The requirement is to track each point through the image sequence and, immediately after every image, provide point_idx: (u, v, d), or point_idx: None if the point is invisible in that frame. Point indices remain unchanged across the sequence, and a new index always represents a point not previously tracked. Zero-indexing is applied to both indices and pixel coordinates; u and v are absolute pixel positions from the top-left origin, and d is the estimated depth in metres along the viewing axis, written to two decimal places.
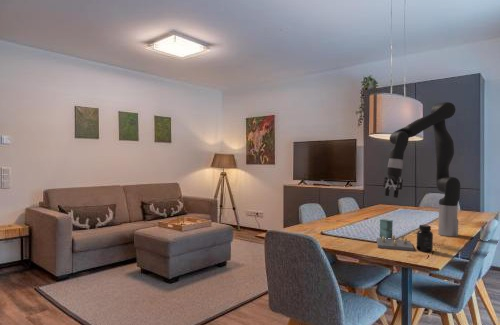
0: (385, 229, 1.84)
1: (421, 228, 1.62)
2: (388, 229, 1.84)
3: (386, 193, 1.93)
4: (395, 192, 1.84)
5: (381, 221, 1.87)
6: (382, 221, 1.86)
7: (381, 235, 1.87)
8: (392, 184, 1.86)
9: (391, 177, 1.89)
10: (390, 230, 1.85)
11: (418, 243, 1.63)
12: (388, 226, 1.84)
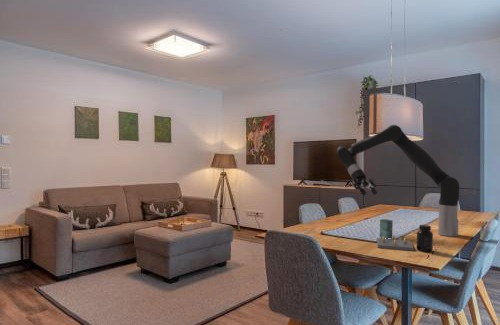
0: (385, 229, 1.84)
1: (421, 228, 1.62)
2: (388, 229, 1.84)
3: (373, 192, 1.99)
4: (361, 191, 1.96)
5: (381, 221, 1.87)
6: (382, 221, 1.86)
7: (381, 235, 1.87)
8: None
9: None
10: (390, 230, 1.85)
11: (418, 243, 1.63)
12: (388, 226, 1.84)
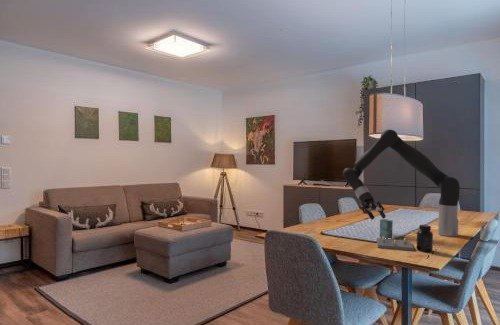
0: (385, 229, 1.84)
1: (421, 228, 1.62)
2: (388, 229, 1.84)
3: (382, 216, 1.94)
4: (369, 215, 1.91)
5: (381, 221, 1.87)
6: (382, 221, 1.86)
7: (381, 235, 1.87)
8: None
9: None
10: (390, 230, 1.85)
11: (418, 243, 1.63)
12: (388, 226, 1.84)
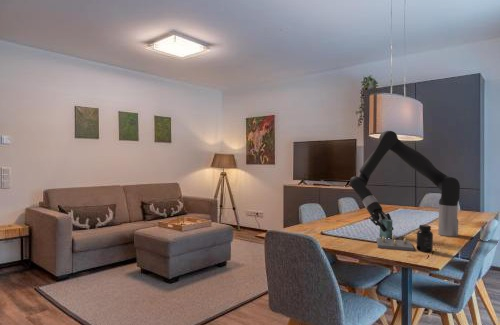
0: None
1: (421, 228, 1.62)
2: (388, 229, 1.84)
3: None
4: (381, 227, 1.86)
5: None
6: (382, 221, 1.86)
7: (381, 235, 1.87)
8: None
9: None
10: (390, 230, 1.85)
11: (418, 243, 1.63)
12: (388, 226, 1.84)
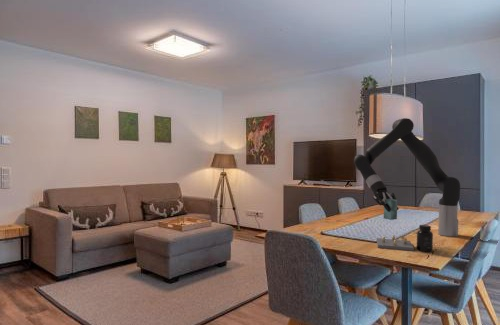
0: None
1: (421, 228, 1.62)
2: (392, 208, 1.75)
3: None
4: (385, 207, 1.76)
5: None
6: (386, 200, 1.77)
7: (385, 215, 1.77)
8: None
9: None
10: (394, 210, 1.75)
11: (418, 243, 1.63)
12: (393, 206, 1.75)
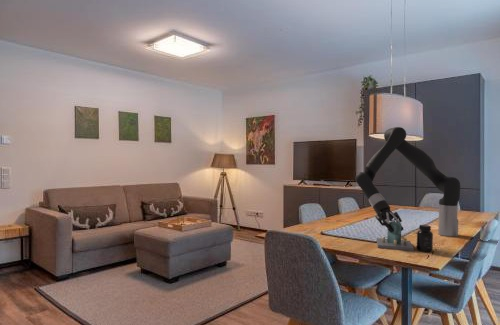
0: (393, 233, 1.69)
1: (421, 228, 1.62)
2: (396, 232, 1.69)
3: None
4: None
5: None
6: None
7: (389, 239, 1.72)
8: None
9: None
10: (399, 234, 1.70)
11: (418, 243, 1.63)
12: (397, 230, 1.69)
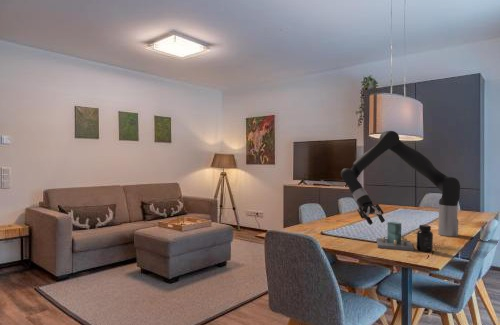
0: (393, 233, 1.69)
1: (421, 228, 1.62)
2: (396, 232, 1.69)
3: (381, 220, 1.86)
4: (367, 220, 1.83)
5: (389, 224, 1.72)
6: (390, 224, 1.71)
7: (389, 239, 1.72)
8: None
9: None
10: (399, 234, 1.70)
11: (418, 243, 1.63)
12: (397, 230, 1.69)
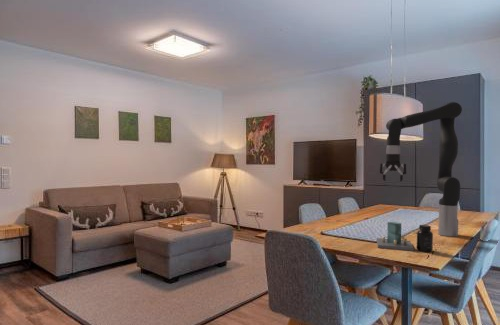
0: (393, 233, 1.69)
1: (421, 228, 1.62)
2: (396, 232, 1.69)
3: None
4: None
5: (389, 224, 1.72)
6: (390, 224, 1.71)
7: (389, 239, 1.72)
8: None
9: None
10: (399, 234, 1.70)
11: (418, 243, 1.63)
12: (397, 230, 1.69)
